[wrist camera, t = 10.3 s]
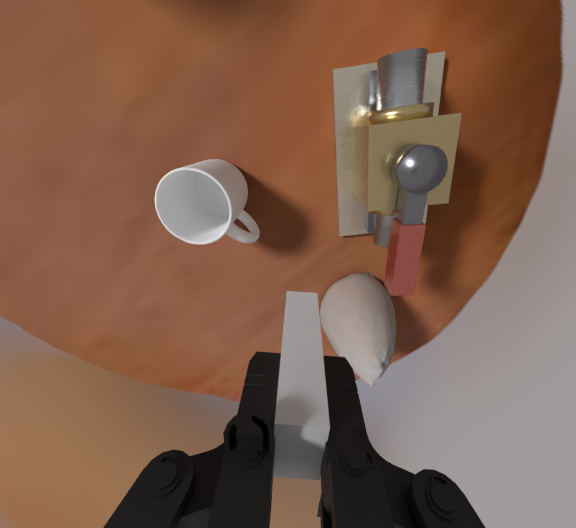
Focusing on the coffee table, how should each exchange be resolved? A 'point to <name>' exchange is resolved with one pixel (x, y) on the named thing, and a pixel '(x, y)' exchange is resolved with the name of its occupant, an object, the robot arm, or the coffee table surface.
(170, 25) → the coffee table surface
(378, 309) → the sculpture
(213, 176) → the mug
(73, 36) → the coffee table surface
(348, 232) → the valve body
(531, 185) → the coffee table surface
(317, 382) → the robot arm
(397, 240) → the lever
